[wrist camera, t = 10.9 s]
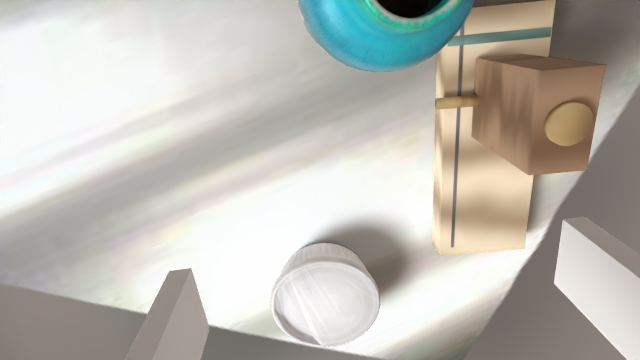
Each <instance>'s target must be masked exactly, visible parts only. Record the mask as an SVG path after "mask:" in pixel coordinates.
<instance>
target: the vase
mask: <svg viewBox="0 0 640 360" xmlns="http://www.w3.org/2000/svg"><path fill="white" fill-rule="evenodd" d="M297 2H298V8H299V11H300V14H301V17H302V20H303V22H304V24H305V26H306V28H307V30H308V32H309V33H310V35H311V36H312V38H313V39H314V40H315V42H316V43H317V44H318V45H319V46H320V47H321V48H322V49H323V50H324V51H325V52H326V53H328V54H329V55H330V56H332V57H333V58H334V59H336V60H338V61H340V62H342V63H343V64H345V65H347V66H350V67H353V68H356V69H359V70H365V71H372V72H390V71H396V70H402V69H405V68H408V67H411V66H414V65H417V64H419V63H421V62H423V61H425V60H427V59H429V58H430V57H432V56H433V55H434V54H436V53H437V52H439V51H440V50H441V49H442V48H443V47H444V46H445V45H446V44H447V43H448V42H450V41H451V40H452V39H453V37H454V36H455V35H456V33H457V32H458V31H459V30H460V28H461V27H462V26H463V24H464V22H465V20H466V19H467V17H468V15H469V14H470V11H471V9H472V6H473V4H474V2H475V0H297Z"/></svg>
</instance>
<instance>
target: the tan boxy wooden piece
mask: <svg viewBox="0 0 640 360" xmlns="http://www.w3.org/2000/svg"><path fill="white" fill-rule="evenodd" d="M605 66H606V65H605V64H597V63H590V62H582V61H575V60H567V59H559V58H552V57H544V56H536V55H529V54H514V55H503V56H493V57H482V58H476V66H475V82H474V95H466V96H455V97H444V98H436V100H435V107H436V109H437V110H440V109H451V108H461V107H472V106H473V116H472V133H471V137H472V138H474V139H475V140H477V141H478V142H480V143H481V144H483V145H484V146H486V147H487V148H489V149H490V150H492V151H493V152H495V153H496V154H498V155H499V156H501V157H502V158H504V159H505V160H506V161H508V162H509V163H511V164H512V165H514V166H515V167H517V168H518V169H520V170H521V171H523V172H524V173H526V174H527V175H539V174H550V173H561V172H572V171H582V170H587V166H588V160H589V155H590V149H591V144H592V138H593V133H594V127H595V122H596V116H597V111H598V105H599V99H600V94H601V88H602V83H603V77H604V72H605Z"/></svg>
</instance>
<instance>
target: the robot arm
mask: <svg viewBox="0 0 640 360" xmlns="http://www.w3.org/2000/svg"><path fill="white" fill-rule="evenodd" d="M554 284H555V285H556V286H557V287H558V288H559V289H560V290H561V291H562V292H563V293H564V294H565V295H566V296H567V297H568V298H569V299H570V301H571V302H572V303H573V304H574V305H575V306H576V307H577V308H578V309H579V310H580V311H581V312H582V313H583V314H584V315H585V316H586V317H587V318H588V319H589V320H590V321H591V322H592V324H593V325H594V326H595V327H596V328H597V329H598V330H599V331H600V332H601V333H602V334H603V335H604V336H605V337H606V338H607V339H608V340H609V341H610V342H611V343H612V344H613V345H614V346H615V348H616V349H617V350H618V351H619V352H620V353H621V354H622V355H623V356H624V357H625V358H626V359H627V360H640V255H639V254H637V253H636V252H635V251H633V250H632V249H630V248H629V247H627V246H626V245H624V244H623V243H622V242H620V241H619V240H617V239H616V238H615V237H613V236H612V235H610V234H609V233H607V232H606V231H604V230H603V229H602V228H600V227H599V226H597V225H596V224H595V223H593V222H592V221H590V220H589V219H587V218H586V217H579V218H572V219H564V220H563V224H562V231H561V238H560V245H559V252H558V259H557V267H556V273H555V280H554ZM208 331H209V326H208V322H207V319H206V316H205V312H204V309H203V306H202V303H201V299H200V296H199V293H198V289H197V286H196V283H195V280H194V276H193V273H192V270H191V268H190V269H183V270H175V271H169V273H168V275H167V277H166V279H165V281H164V283H163V285H162V287H161V289H160V291H159V293H158V295H157V297H156V299H155V301H154V303H153V304H152V306H151V308H150V310H149V312H148V314H147V317H146V318H145V320H144V323H143V324H142V326H141V328H140V330H139V332H138V334H137V336H136V338H135V340H134V342H133V344H132V346H131V348H130V350H129V352H128V354H127V356H126V358H125V360H200V359H201V356H202V352H203V349H204V345H205V342H206V338H207V335H208Z"/></svg>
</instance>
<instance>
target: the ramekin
mask: <svg viewBox="0 0 640 360" xmlns="http://www.w3.org/2000/svg"><path fill="white" fill-rule="evenodd" d="M379 308H380V295H379V291H378V287H377V285H376V282H375V281H374V279H373V277H372V276H371V275H370V274H369V273H368V271H367V269H366V268H365V266H364V264H363V262H362V261H361V260H360V258H359V257H358V256H357V255H356V254H355V253H353V252H352V251H351V250H349V249H347V248H345V247H343V246H340V245H337V244H332V243H318V244H312V245H310V246H307V247H305V248H302V249H301V250H299V251H297V252H296V253H295V254H293V255H292V257H291V258H290V259H289V260H288V261H287V263H286V265H285V266H284V268H283V270H282V273H281V275H280V277H279V278H278V279H277V281H276V283H275V285H274V287H273V290H272V295H271V311H272V315H273V317H274V320H275V322H276V323H277V325H278V326H279V327H280V329H281V330H282V331H283V332H284V333H285V334H287V335H288V336H289V337H291V338H293V339H294V340H296V341H298V342H301V343H303V344H306V345H311V346H317V347H330V346H338V345H342V344H345V343H348V342H350V341H352V340H354V339H356V338H358V337H359V336H361V335H362V334H363V333H364V332H365V331H367V330H368V329H369V328H370V326H371V325H372V324H373V322H374V321H375V319H376V317H377V315H378V312H379Z"/></svg>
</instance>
